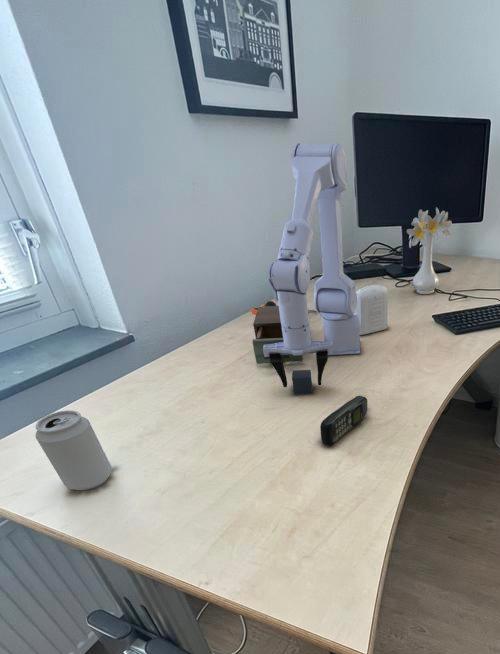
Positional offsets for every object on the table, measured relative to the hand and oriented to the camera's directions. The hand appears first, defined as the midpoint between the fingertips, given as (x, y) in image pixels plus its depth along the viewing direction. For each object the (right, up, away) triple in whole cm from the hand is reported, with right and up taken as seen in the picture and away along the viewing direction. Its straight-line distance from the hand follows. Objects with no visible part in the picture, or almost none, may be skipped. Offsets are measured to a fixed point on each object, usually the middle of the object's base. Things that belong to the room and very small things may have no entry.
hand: (302, 384), depth 97 cm
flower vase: (+35, +45, +56) cm, 80 cm away
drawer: (-8, +10, +14) cm, 19 cm away
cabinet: (-9, +17, +23) cm, 30 cm away
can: (-33, -22, -23) cm, 46 cm away
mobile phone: (+11, -11, -11) cm, 19 cm away
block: (0, -1, +1) cm, 1 cm away
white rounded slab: (+16, +22, +28) cm, 39 cm away
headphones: (-12, +29, +38) cm, 49 cm away
